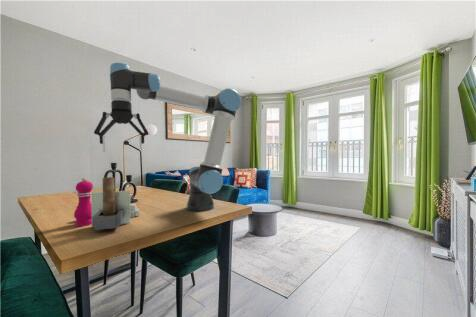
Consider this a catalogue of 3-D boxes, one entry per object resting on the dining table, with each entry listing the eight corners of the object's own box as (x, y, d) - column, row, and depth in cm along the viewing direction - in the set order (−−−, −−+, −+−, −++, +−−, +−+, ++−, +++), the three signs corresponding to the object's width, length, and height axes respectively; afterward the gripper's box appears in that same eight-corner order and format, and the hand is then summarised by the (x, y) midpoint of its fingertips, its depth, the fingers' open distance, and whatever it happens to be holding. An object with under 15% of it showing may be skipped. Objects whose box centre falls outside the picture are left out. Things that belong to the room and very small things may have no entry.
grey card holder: (130, 222, 93) (130, 190, 93) (127, 231, 82) (127, 195, 82) (92, 226, 88) (92, 192, 88) (84, 236, 77) (83, 197, 77)
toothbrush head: (78, 211, 97) (138, 200, 106) (81, 225, 98) (140, 213, 106) (74, 214, 92) (137, 202, 101) (77, 229, 93) (139, 216, 101)
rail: (115, 221, 86) (115, 177, 86) (113, 224, 83) (113, 177, 83) (104, 222, 85) (103, 177, 85) (102, 225, 81) (101, 178, 81)
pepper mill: (71, 227, 86) (71, 178, 86) (77, 222, 93) (76, 177, 93) (92, 225, 89) (92, 177, 89) (96, 220, 96) (96, 176, 95)
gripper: (152, 105, 99) (154, 151, 99) (88, 101, 89) (90, 152, 89) (153, 101, 92) (155, 150, 92) (83, 96, 82) (86, 151, 82)
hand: (123, 151), depth 91 cm, fingers open, 13 cm apart
